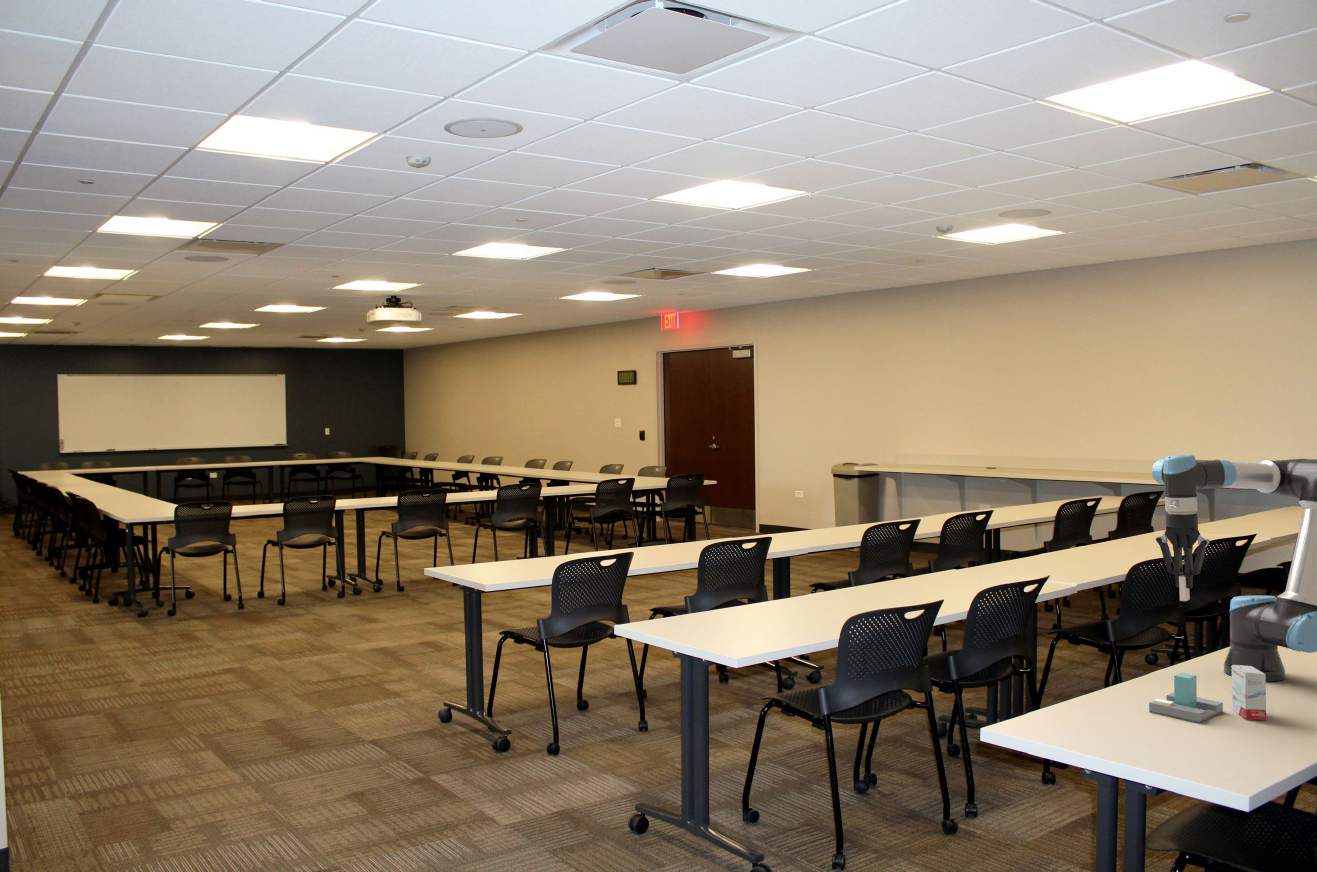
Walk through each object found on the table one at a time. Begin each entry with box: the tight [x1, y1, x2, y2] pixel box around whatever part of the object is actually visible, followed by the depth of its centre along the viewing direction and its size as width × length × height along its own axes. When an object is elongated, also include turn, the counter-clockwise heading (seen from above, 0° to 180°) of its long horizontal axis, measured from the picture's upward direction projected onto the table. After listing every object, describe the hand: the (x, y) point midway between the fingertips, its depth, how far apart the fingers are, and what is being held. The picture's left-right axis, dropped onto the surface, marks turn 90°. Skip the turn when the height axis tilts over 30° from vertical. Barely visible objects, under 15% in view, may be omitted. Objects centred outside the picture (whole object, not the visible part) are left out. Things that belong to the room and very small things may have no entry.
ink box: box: [1231, 665, 1267, 721], centre depth 234 cm, size 9×5×12 cm, turn 168°
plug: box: [1173, 672, 1198, 708], centre depth 237 cm, size 4×4×9 cm
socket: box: [1148, 692, 1224, 724], centre depth 237 cm, size 14×12×3 cm
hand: (1184, 599), depth 249 cm, fingers closed
